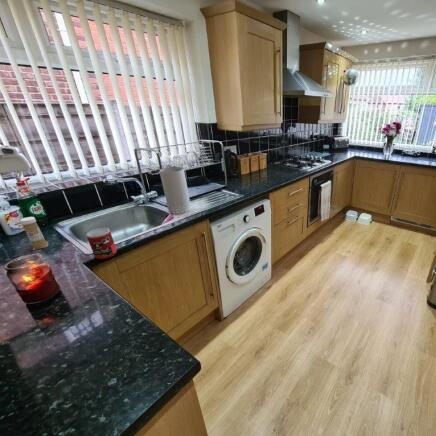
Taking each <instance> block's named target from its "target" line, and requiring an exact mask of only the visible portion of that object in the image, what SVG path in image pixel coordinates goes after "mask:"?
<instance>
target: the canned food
mask: <svg viewBox="0 0 436 436" xmlns="http://www.w3.org/2000/svg"><path fill="white" fill-rule="evenodd" d="M85 237H86V238H87V241H88V244H89V246H90V248H91V251H92V254H93V256H94V257H95V258H96V259H97V260H106V259H109V258H111V257H113V256H115V255H116V254H117V247H116V244H115V242H114V238H113V236H112V233H111V230H110V228H109V227H99V228H94V229H92V230H90V231H88V232H86V234H85Z"/></svg>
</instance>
